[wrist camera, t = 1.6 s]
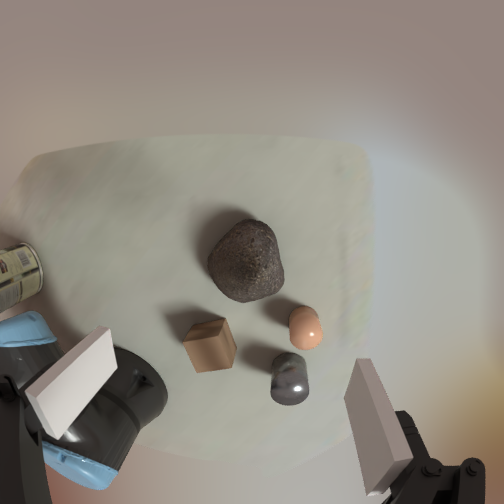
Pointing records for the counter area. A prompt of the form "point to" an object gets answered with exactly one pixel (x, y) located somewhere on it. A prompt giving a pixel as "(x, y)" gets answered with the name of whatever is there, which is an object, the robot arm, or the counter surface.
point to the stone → (247, 262)
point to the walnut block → (210, 346)
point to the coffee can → (19, 275)
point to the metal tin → (289, 379)
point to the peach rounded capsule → (305, 328)
